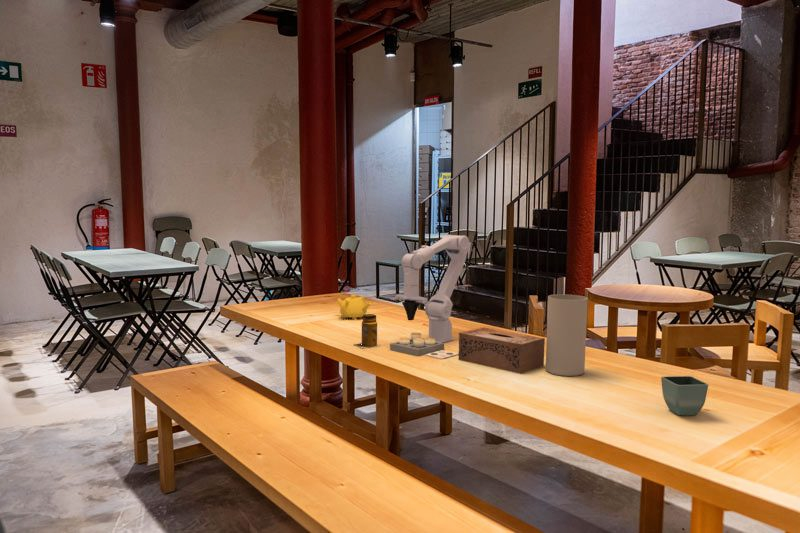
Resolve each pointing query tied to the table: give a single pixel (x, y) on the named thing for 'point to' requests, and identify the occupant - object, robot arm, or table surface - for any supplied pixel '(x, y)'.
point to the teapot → (353, 307)
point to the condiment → (369, 331)
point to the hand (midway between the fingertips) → (410, 319)
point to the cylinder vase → (566, 335)
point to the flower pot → (684, 394)
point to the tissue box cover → (502, 349)
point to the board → (416, 351)
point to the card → (442, 354)
